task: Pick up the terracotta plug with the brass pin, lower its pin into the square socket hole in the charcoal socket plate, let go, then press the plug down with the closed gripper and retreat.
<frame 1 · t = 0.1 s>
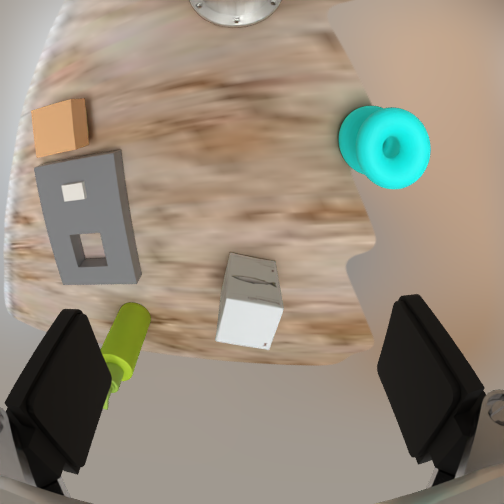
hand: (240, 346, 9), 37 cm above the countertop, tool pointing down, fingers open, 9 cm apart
socket: (90, 219, 45), on the countertop
soap dispenser: (135, 313, 54), on the countertop
supplement box: (247, 275, 51), on the countertop
plug: (75, 124, 39), on the countertop
donuts: (368, 139, 42), on the countertop
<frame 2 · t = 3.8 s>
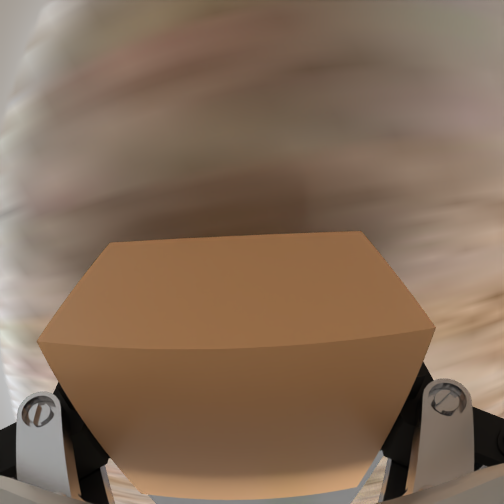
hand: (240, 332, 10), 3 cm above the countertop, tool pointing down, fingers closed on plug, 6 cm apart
socket: (254, 466, 19), on the countertop
plug: (240, 288, 12), on the countertop, touching gripper
when the fingers open (5 cm above the countertop, at t = 9.1 s): plug drops 2 cm, resting on socket.
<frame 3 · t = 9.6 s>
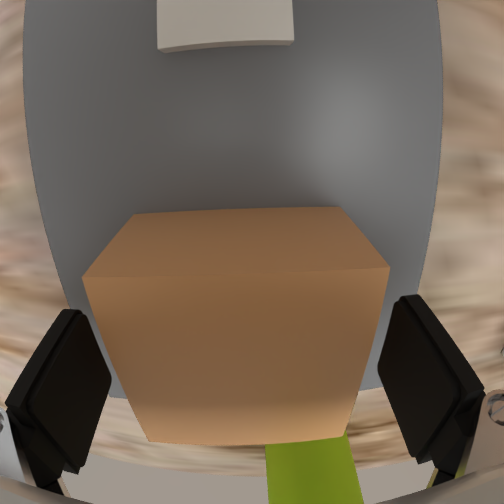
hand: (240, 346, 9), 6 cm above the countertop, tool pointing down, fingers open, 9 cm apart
socket: (235, 168, 12), on the countertop
soap dispenser: (307, 427, 20), on the countertop
plug: (240, 261, 14), resting on socket
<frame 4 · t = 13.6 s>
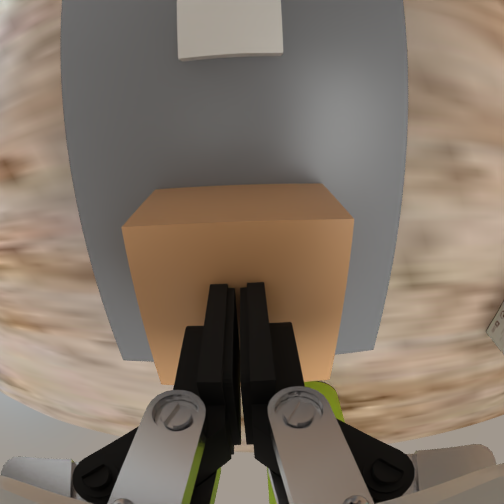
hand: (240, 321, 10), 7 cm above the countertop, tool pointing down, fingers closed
socket: (237, 155, 15), on the countertop
soap dispenser: (303, 398, 23), on the countertop
plug: (241, 234, 16), resting on socket, touching gripper
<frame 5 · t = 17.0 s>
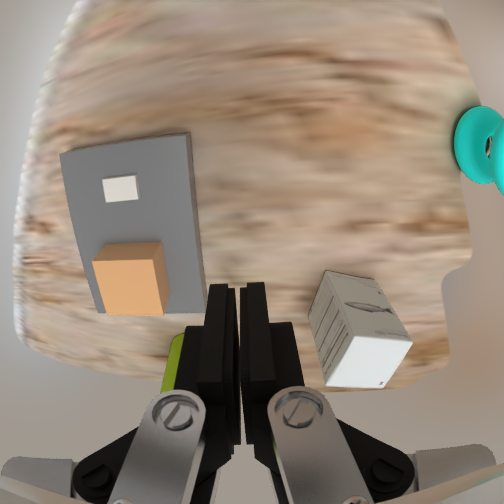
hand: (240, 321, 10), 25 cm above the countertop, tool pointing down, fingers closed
socket: (138, 226, 35), on the countertop
soap dispenser: (192, 344, 43), on the countertop
supplement box: (340, 296, 41), on the countertop
plug: (144, 258, 37), resting on socket
donuts: (476, 143, 32), on the countertop
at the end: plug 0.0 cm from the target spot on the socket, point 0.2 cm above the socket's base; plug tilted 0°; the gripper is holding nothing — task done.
